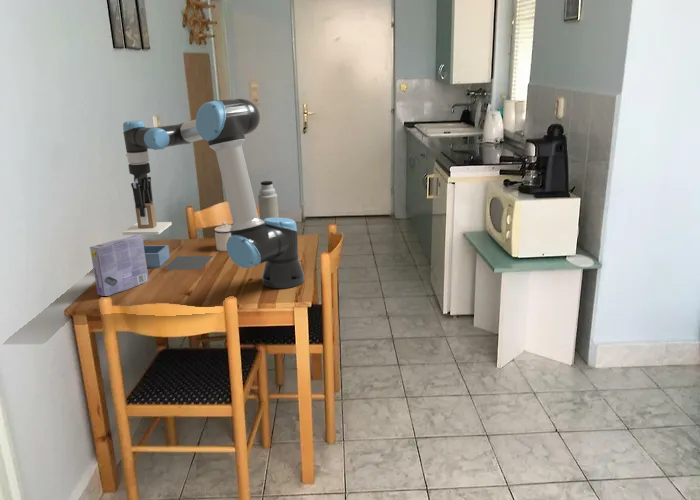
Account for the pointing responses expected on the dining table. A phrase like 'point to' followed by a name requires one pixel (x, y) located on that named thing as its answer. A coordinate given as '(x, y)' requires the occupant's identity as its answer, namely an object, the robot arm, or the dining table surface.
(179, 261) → the mat
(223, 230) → the teacup with lid
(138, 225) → the lid
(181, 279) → the dining table surface
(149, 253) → the blue open box
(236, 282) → the dining table surface
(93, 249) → the cake pan box
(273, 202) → the thermos bottle
